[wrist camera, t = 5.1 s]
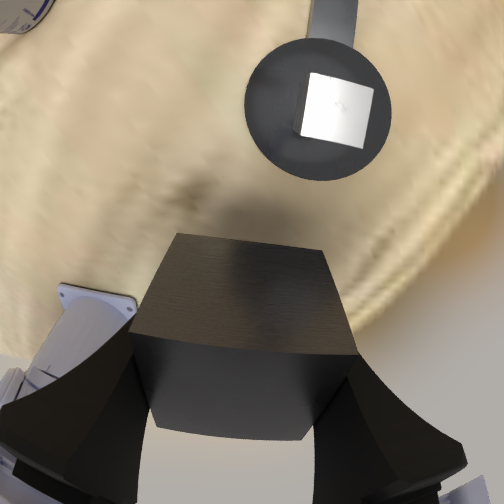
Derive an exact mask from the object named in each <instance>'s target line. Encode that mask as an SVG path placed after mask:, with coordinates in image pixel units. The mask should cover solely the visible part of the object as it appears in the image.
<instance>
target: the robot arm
mask: <svg viewBox="0 0 504 504" xmlns="http://www.w3.org/2000/svg"><path fill="white" fill-rule="evenodd" d="M57 291H58V294H59V297H60V300H61V303H62V306H63V309H64V312H63V314H62V315H61V317H60V318H59V320H58V321H57V323H56V324H55V326H54V327H53V329H52V330H51V332H50V333H49V335H48V336H47V338H46V340H45V341H44V343H43V344H42V346H41V348H40V349H39V351H38V353H37V354H36V356H35V358H34V359H33V361H32V363H31V365H30V366H29V368H28V370H26V371H25V372H23V370H22V369H20V368H19V367H17V368H16V369H15V368H10V369H9V370H8V371H7V372H6V374H5V375H4V376H3V378H2V380H1V381H0V504H135V503H137V492H138V476H139V468H140V459H141V451H142V444H143V438H144V433H145V427H146V422H147V417H148V413H149V409H150V407H149V404H148V401H147V398H146V394H145V391H144V388H143V385H142V382H141V378H140V375H139V372H138V368H137V365H136V361H135V357H134V353H133V350H132V346H131V342H130V338H129V333H128V331H129V328H130V326H131V324H132V322H133V320H134V317H135V315H136V313H137V307H136V302H135V300H134V299H132V298H130V297H125V296H119V295H114V294H109V293H103V292H98V291H93V290H88V289H84V288H79V287H74V286H70V285H65V284H59V285H58V286H57ZM129 307H130V308H129ZM131 308H132V309H131ZM358 354H359V352H358ZM313 428H314V444H315V445H314V447H315V473H314V493H313V503H312V504H490V500H489V496H488V491H487V487H486V484H485V480H484V476H483V475H481V476H479V477H477V478H475V479H474V480H472V481H470V482H468V483H466V484H464V485H462V486H460V487H458V488H456V489H455V490H452V491H451V492H449V493H447V494H445V495H443V496H440V497H438V493H437V492H438V491H440V490H441V483H440V482H441V481H443V480H445V479H447V478H448V477H450V476H452V475H454V474H456V473H457V472H459V471H460V470H462V469H463V468H465V467H466V466H467V464H468V463H467V459H466V456H465V453H464V450H463V447H462V444H461V443H459V442H458V441H456V440H454V439H453V438H451V437H449V436H447V435H446V434H444V433H442V432H440V431H439V430H437V429H436V428H435V427H433V426H431V425H430V424H429V423H427V422H426V421H425V420H423V419H422V418H421V417H419V416H418V415H417V414H416V413H414V412H413V411H412V410H411V409H410V408H409V407H407V406H406V405H405V404H404V403H403V402H402V401H401V400H400V399H399V398H398V397H397V396H396V395H395V394H394V393H393V392H392V391H391V390H390V389H389V388H388V387H387V386H386V385H385V384H384V383H383V382H382V381H381V380H380V378H379V377H378V376H377V375H376V374H375V372H374V371H373V370H372V369H371V368H370V366H369V365H368V364H367V363H366V362H365V360H364V359H363V358H362V356H361V355H360V354H359V355H358V357H357V359H356V360H355V362H354V364H353V365H352V367H351V369H350V370H349V372H348V374H347V375H346V377H345V379H344V380H343V382H342V383H341V385H340V386H339V388H338V389H337V391H336V393H335V394H334V396H333V397H332V399H331V400H330V402H329V403H328V404H327V406H326V407H325V409H324V410H323V412H322V413H321V414H320V416H319V417H318V419H317V420H316V421H315V423H314V424H313Z"/></svg>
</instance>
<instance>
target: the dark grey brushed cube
mask: <svg viewBox="0 0 504 504" xmlns="http://www.w3.org/2000/svg"><path fill="white" fill-rule="evenodd" d="M128 333H129V338H130V342H131V346H132V350H133V353H134V357H135V361H136V365H137V368H138V372H139V375H140V378H141V382H142V385H143V388H144V391H145V394H146V398H147V401H148V404H149V407H150V409H151V412H152V415H153V418H154V420H155V423H156V426H157V427H160V428H165V429H170V430H175V431H181V432H187V433H194V434H200V435H207V436H217V437H225V438H237V439H252V440H281V441H282V440H283V441H284V440H285V441H292V440H302V439H303V437H304V436H305V435H306V433H307V432H308V431H309V429H310V428H311V427H312V426H313V424H314V423H315V421H316V420H317V419H318V417H319V416H320V414H321V413H322V412H323V410H324V409H325V407H326V406H327V404H328V403H329V402H330V400H331V399H332V397H333V396H334V394H335V393H336V391H337V389H338V388H339V386H340V385H341V383H342V382H343V380H344V379H345V377H346V375H347V374H348V372H349V370H350V369H351V367H352V365H353V364H354V362H355V360H356V359H357V357H358V355H359V354H358V351H357V347H356V344H355V341H354V338H353V335H352V332H351V329H350V326H349V323H348V320H347V317H346V314H345V311H344V308H343V305H342V303H341V300H340V297H339V294H338V291H337V289H336V286H335V283H334V280H333V278H332V275H331V272H330V270H329V267H328V264H327V262H326V259H325V256H324V254H323V251H322V250H314V249H306V248H298V247H290V246H282V245H274V244H266V243H258V242H250V241H241V240H233V239H224V238H216V237H208V236H199V235H190V234H182V233H177V234H176V236H175V238H174V240H173V241H172V243H171V245H170V247H169V249H168V251H167V253H166V255H165V256H164V258H163V260H162V262H161V264H160V266H159V268H158V270H157V272H156V274H155V276H154V278H153V280H152V282H151V284H150V286H149V288H148V290H147V292H146V294H145V296H144V298H143V300H142V302H141V305H140V307H139V309H138V311H137V313H136V315H135V317H134V320H133V322H132V324H131V326H130V328H129V331H128Z"/></svg>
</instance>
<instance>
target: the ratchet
mask: <svg viewBox="0 0 504 504" xmlns="http://www.w3.org/2000/svg"><path fill="white" fill-rule="evenodd" d="M357 8H358V0H311V5H310V13H309V20H308V27H307V34H306V38H305V39H299V40H294V41H291V42H289V43H286V44H283V45H282V46H280V47H278V48H276V49H274V50H273V51H272V52H270V53H269V54H268V55H267V56H266V57H265V58H264V59H263V60H262V61H261V62H260V63H259V64H258V66H257V67H256V68H255V70H254V72H253V73H252V75H251V77H250V80H249V82H248V85H247V89H246V94H245V104H244V107H245V117H246V122H247V126H248V128H249V131H250V134H251V136H252V138H253V140H254V142H255V143H256V145H257V146H258V148H259V149H260V151H261V152H262V153H263V154H264V155H265V156H266V157H267V158H268V159H269V160H270V161H271V162H272V163H273V164H275V165H276V166H278V167H279V168H280V169H282V170H284V171H286V172H288V173H290V174H292V175H294V176H297V177H300V178H304V179H308V180H316V181H329V180H336V179H340V178H344V177H347V176H349V175H352V174H354V173H356V172H358V171H359V170H361V169H363V168H364V167H365V166H366V165H368V164H369V163H370V162H371V161H372V160H373V159H374V158H375V157H376V156H377V154H378V153H379V152H380V150H381V149H382V147H383V145H384V143H385V141H386V139H387V136H388V133H389V130H390V125H391V101H390V97H389V93H388V90H387V87H386V85H385V82H384V81H383V79H382V77H381V75H380V74H379V72H378V71H377V69H376V68H375V67H374V66H373V65H372V63H371V62H370V61H369V60H368V59H367V58H365V57H364V56H363V55H362V54H361V53H359V52H358V51H356V50H354V49H353V44H354V36H355V27H356V18H357Z"/></svg>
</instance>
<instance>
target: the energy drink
mask: <svg viewBox="0 0 504 504" xmlns="http://www.w3.org/2000/svg"><path fill="white" fill-rule="evenodd" d="M53 1H54V0H0V33H8V34H21V33H24V32H26V31H28V30H30V29H31V28H32V27H34V26H35V25H36V24H37V23H38V22H39V21H40V20H41V19H42V18H43V17H44V16H45V14H46V13H47V12H48V10H49V8H50V7H51V5H52V3H53Z"/></svg>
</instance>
